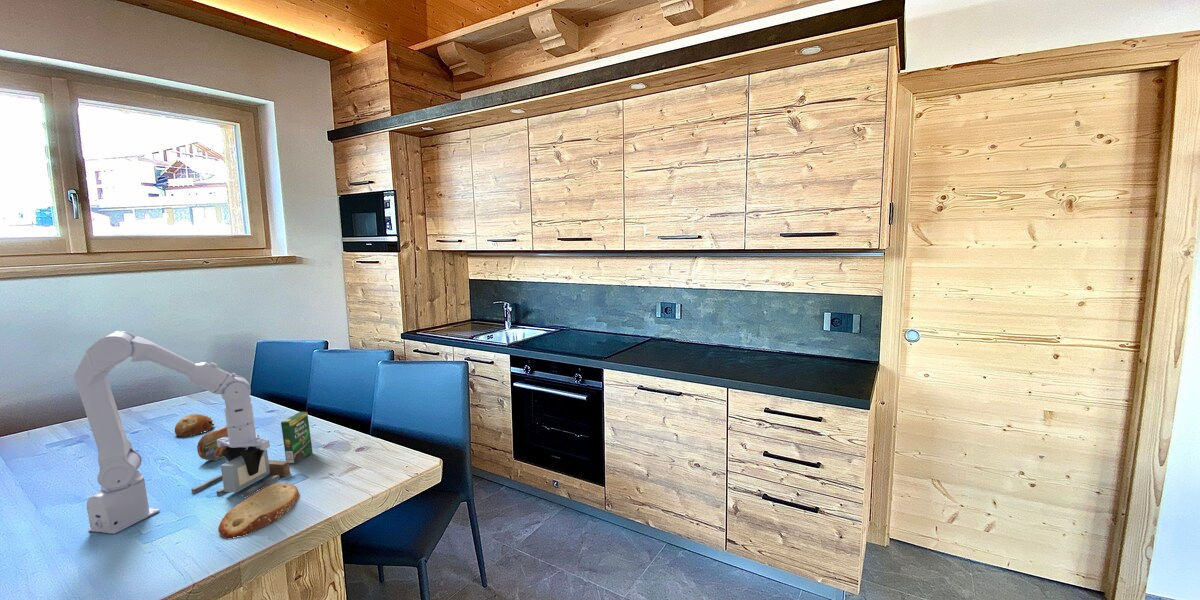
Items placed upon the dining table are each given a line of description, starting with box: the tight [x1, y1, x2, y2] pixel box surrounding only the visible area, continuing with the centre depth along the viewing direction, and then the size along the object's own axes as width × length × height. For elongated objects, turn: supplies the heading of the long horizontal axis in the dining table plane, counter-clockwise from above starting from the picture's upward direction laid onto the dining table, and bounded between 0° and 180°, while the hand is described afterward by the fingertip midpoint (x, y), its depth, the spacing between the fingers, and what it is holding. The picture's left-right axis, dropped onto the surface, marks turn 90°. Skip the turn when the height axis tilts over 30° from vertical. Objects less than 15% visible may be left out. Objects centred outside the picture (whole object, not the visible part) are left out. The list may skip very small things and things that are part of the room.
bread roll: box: [174, 413, 215, 437], centre depth 170 cm, size 10×10×8 cm
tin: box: [196, 424, 228, 461], centre depth 150 cm, size 15×3×8 cm, turn 168°
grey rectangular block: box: [220, 448, 270, 493], centre depth 128 cm, size 10×4×7 cm, turn 168°
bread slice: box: [217, 482, 300, 540], centre depth 116 cm, size 18×18×4 cm
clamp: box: [191, 459, 291, 498], centre depth 130 cm, size 13×18×4 cm
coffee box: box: [280, 411, 313, 465], centre depth 144 cm, size 8×3×13 cm, turn 175°
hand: (247, 473), depth 128 cm, fingers closed on grey rectangular block, 4 cm apart
